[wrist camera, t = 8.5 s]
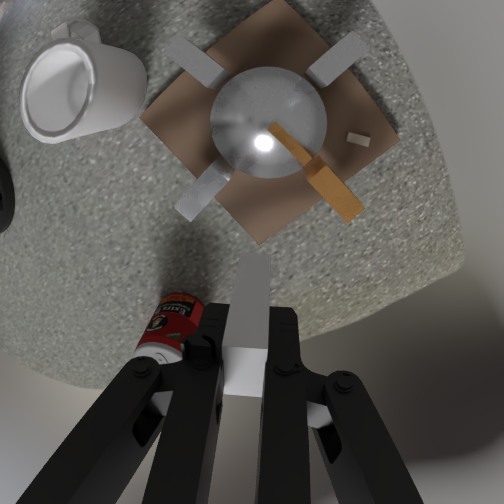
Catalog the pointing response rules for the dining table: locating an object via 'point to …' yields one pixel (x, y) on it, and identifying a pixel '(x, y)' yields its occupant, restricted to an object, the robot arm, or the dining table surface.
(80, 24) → the mug
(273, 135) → the silver spoked hub
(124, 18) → the dining table surface
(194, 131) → the wooden base plate
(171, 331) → the canned food
